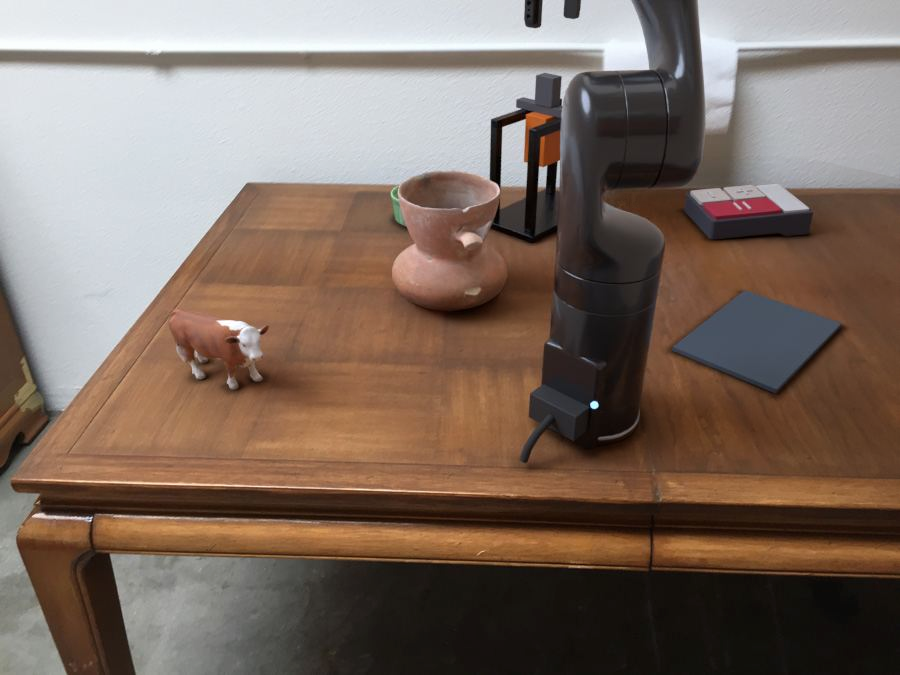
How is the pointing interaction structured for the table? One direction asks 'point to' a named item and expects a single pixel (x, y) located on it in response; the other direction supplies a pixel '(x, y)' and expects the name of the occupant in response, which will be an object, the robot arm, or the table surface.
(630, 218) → the robot arm
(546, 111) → the orange block with crossbar
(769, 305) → the mat
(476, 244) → the ceramic jug
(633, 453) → the table surface
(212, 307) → the table surface
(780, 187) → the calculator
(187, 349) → the bull figurine
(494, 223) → the rack
